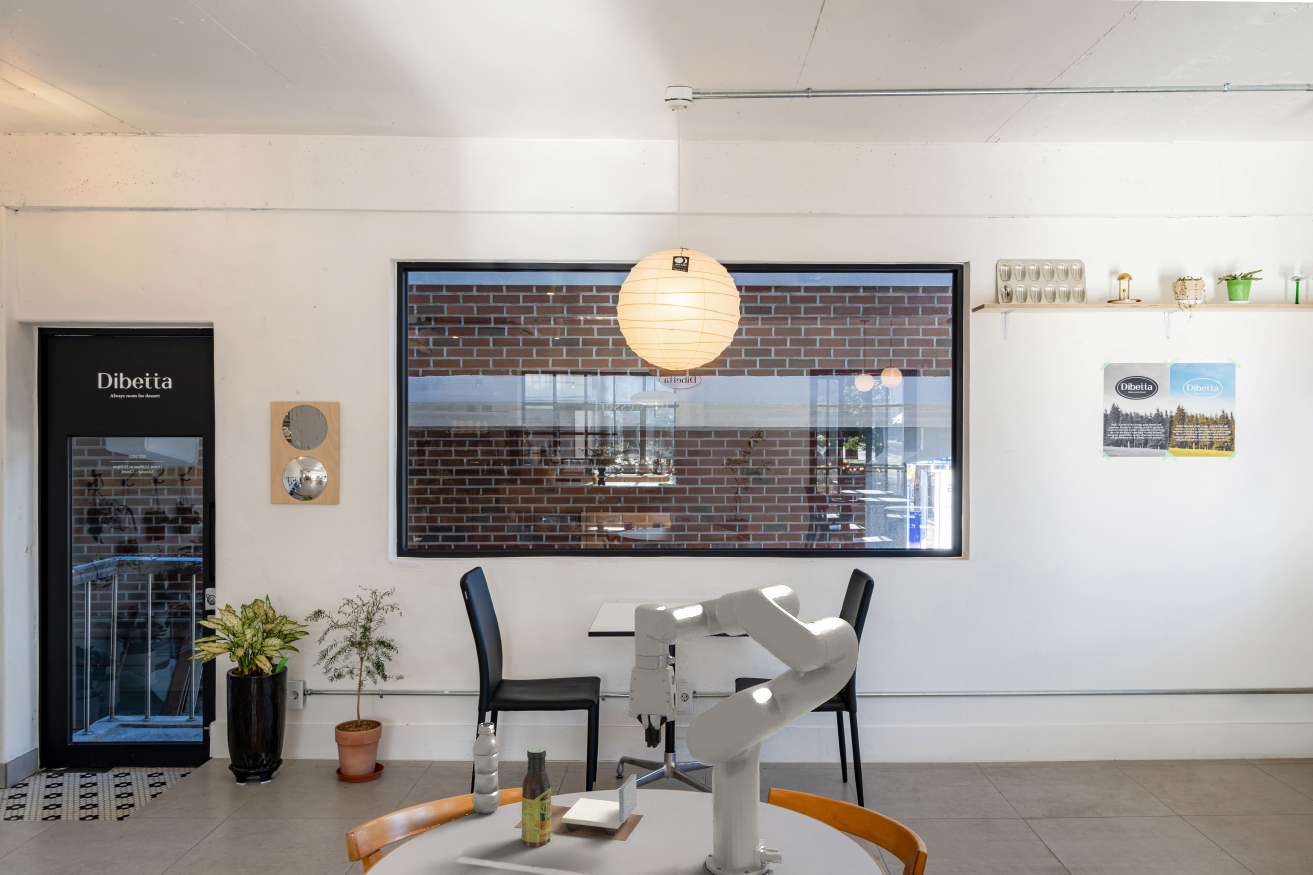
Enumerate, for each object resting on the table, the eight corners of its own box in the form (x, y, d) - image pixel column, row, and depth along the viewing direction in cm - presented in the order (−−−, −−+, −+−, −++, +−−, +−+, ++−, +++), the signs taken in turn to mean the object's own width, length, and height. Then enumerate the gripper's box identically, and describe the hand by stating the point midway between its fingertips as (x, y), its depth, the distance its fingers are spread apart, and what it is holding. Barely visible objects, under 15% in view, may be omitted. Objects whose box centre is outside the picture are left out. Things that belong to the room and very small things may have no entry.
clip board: (643, 819, 180) (643, 815, 180) (625, 845, 167) (625, 840, 167) (539, 807, 187) (539, 803, 187) (514, 831, 175) (514, 826, 175)
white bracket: (638, 815, 179) (637, 772, 180) (622, 837, 169) (621, 791, 169) (580, 809, 183) (580, 767, 184) (562, 829, 172) (561, 784, 173)
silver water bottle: (466, 815, 184) (466, 727, 185) (481, 803, 190) (481, 719, 191) (491, 818, 182) (491, 730, 183) (505, 806, 188) (505, 721, 189)
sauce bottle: (545, 853, 164) (544, 756, 165) (517, 850, 166) (516, 754, 167) (555, 838, 171) (554, 745, 172) (528, 836, 172) (527, 744, 173)
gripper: (689, 659, 176) (690, 742, 175) (625, 655, 180) (626, 737, 179) (680, 666, 168) (682, 754, 168) (614, 663, 173) (615, 748, 172)
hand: (653, 745), depth 173 cm, fingers closed
